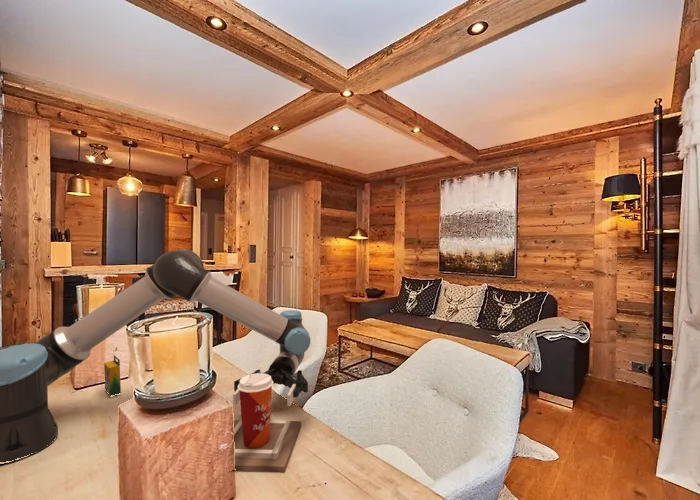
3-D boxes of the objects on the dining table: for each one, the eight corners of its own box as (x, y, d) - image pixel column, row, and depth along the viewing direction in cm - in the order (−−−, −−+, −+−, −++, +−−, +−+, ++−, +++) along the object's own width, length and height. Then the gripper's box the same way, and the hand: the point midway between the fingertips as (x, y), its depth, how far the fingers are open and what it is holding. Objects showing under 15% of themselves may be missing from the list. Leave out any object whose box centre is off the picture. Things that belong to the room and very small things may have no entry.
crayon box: (104, 391, 110) (103, 356, 110) (115, 388, 112) (114, 354, 112) (110, 398, 105) (109, 362, 105) (121, 395, 108) (120, 359, 107)
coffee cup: (264, 453, 75) (263, 387, 75) (231, 449, 77) (230, 384, 76) (279, 432, 83) (279, 373, 83) (249, 429, 85) (248, 370, 85)
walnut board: (202, 469, 71) (201, 458, 71) (235, 424, 89) (235, 415, 89) (284, 472, 70) (284, 460, 70) (301, 425, 88) (301, 416, 88)
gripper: (323, 380, 102) (311, 416, 81) (244, 379, 104) (212, 414, 83) (323, 356, 102) (311, 385, 81) (244, 355, 104) (212, 384, 83)
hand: (261, 400), depth 82 cm, fingers open, 13 cm apart
